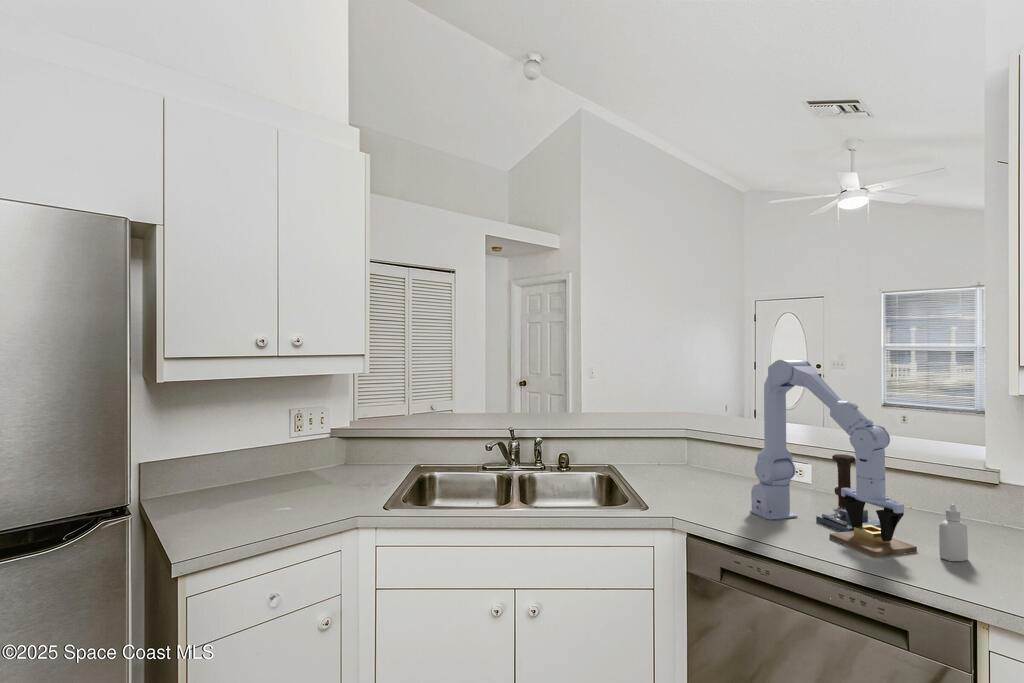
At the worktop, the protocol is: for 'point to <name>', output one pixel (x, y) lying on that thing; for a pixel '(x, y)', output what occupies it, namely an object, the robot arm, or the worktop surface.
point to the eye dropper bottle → (953, 536)
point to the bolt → (843, 473)
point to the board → (873, 550)
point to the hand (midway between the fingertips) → (871, 534)
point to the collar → (869, 534)
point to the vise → (846, 520)
